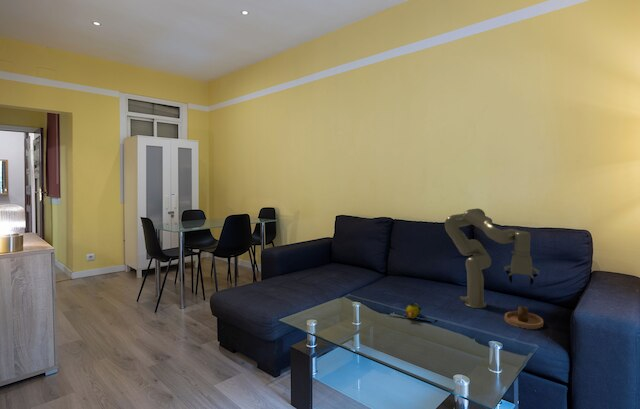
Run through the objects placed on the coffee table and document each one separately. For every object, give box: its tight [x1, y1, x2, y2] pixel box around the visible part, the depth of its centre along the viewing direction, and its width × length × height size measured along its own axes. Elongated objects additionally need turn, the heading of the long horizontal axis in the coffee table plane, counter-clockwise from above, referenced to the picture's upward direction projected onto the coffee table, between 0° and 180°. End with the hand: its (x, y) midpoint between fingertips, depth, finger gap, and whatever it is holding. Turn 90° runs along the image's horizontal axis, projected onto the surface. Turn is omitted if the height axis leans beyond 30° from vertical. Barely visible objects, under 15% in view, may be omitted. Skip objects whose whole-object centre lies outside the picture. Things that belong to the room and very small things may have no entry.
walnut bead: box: [517, 305, 529, 322], centre depth 191 cm, size 5×5×7 cm
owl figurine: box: [388, 302, 423, 321], centre depth 203 cm, size 28×9×15 cm
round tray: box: [503, 310, 544, 330], centre depth 191 cm, size 19×19×2 cm
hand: (520, 283), depth 192 cm, fingers open, 9 cm apart
